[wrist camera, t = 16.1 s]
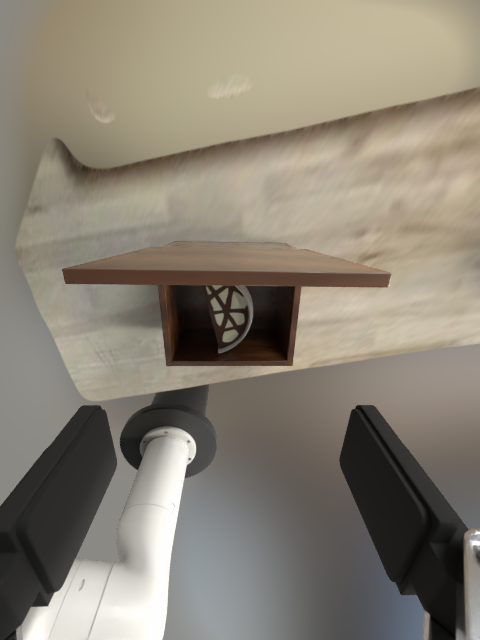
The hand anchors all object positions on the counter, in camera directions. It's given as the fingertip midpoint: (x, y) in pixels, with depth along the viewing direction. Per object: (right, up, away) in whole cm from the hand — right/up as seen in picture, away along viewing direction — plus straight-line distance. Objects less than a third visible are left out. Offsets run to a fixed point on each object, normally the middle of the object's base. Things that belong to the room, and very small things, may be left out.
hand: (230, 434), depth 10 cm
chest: (-1, +10, +34) cm, 35 cm away
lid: (0, +9, +12) cm, 15 cm away
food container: (-1, +9, +33) cm, 34 cm away
